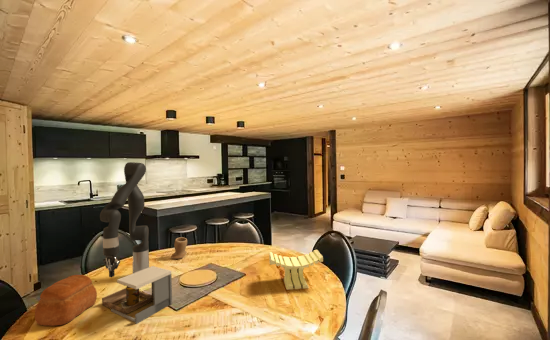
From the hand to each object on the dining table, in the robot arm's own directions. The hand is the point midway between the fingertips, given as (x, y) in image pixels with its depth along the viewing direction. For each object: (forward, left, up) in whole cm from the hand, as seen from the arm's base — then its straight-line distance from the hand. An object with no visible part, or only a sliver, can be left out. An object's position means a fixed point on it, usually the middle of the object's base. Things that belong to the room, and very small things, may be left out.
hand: (111, 276), depth 145 cm
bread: (-2, -20, -11) cm, 23 cm away
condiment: (+17, 0, -11) cm, 20 cm away
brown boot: (-17, +62, -11) cm, 65 cm away
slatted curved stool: (+84, +61, -11) cm, 104 cm away
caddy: (+15, 0, -11) cm, 19 cm away
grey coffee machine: (+26, 0, -11) cm, 28 cm away
